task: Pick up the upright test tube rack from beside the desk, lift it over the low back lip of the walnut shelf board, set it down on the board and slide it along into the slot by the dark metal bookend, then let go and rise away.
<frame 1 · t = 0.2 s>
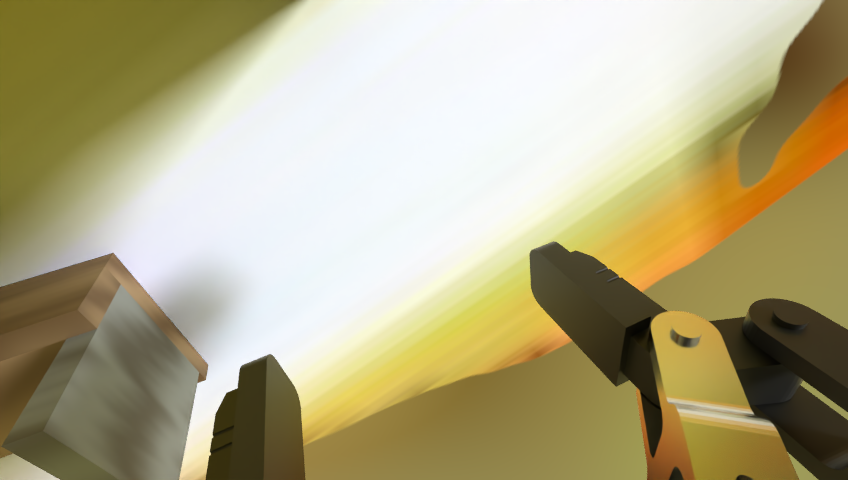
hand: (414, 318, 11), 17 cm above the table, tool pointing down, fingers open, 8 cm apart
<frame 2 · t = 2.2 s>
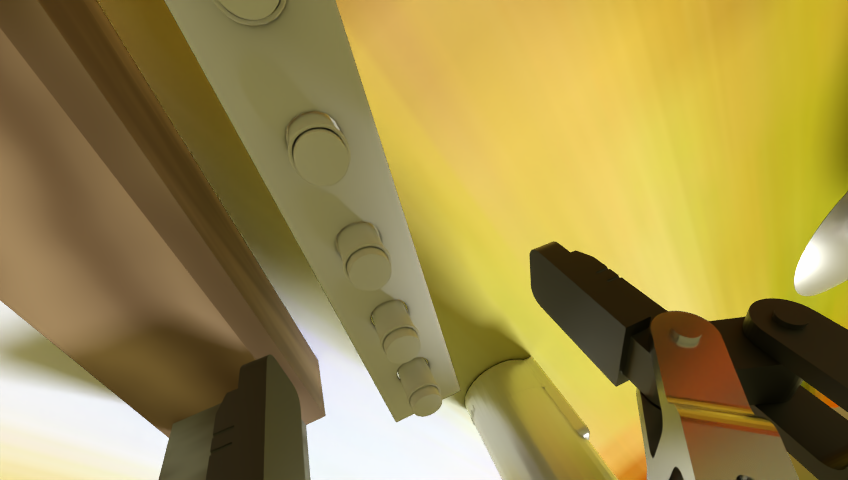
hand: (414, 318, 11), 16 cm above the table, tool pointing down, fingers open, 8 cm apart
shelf: (123, 243, 22), on the table
test tube rack: (326, 160, 24), on the table
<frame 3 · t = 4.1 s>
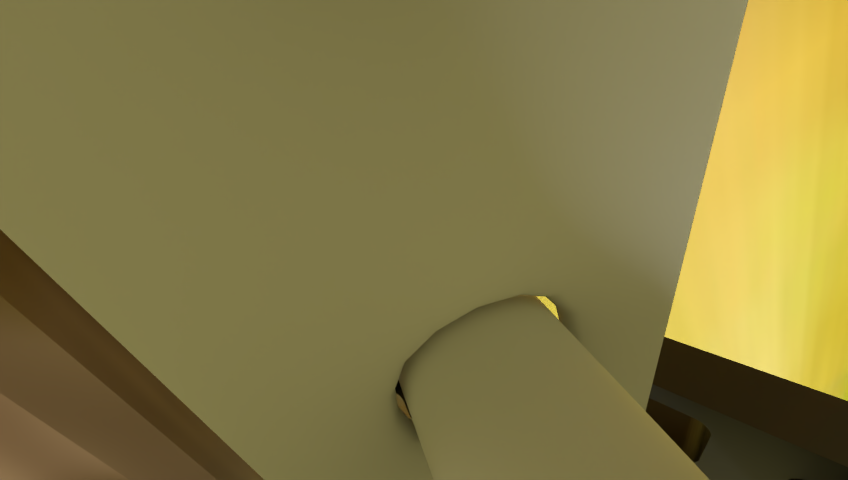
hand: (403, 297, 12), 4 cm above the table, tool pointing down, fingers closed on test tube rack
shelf: (33, 373, 13), on the table
test tube rack: (372, 227, 15), on the table, touching gripper
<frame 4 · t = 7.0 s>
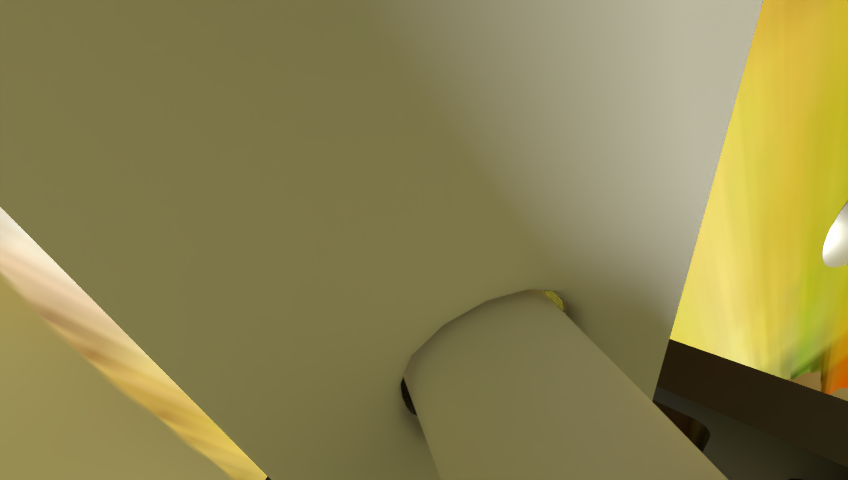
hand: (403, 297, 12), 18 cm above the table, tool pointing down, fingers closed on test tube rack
test tube rack: (372, 226, 15), point 14 cm above the table, touching gripper
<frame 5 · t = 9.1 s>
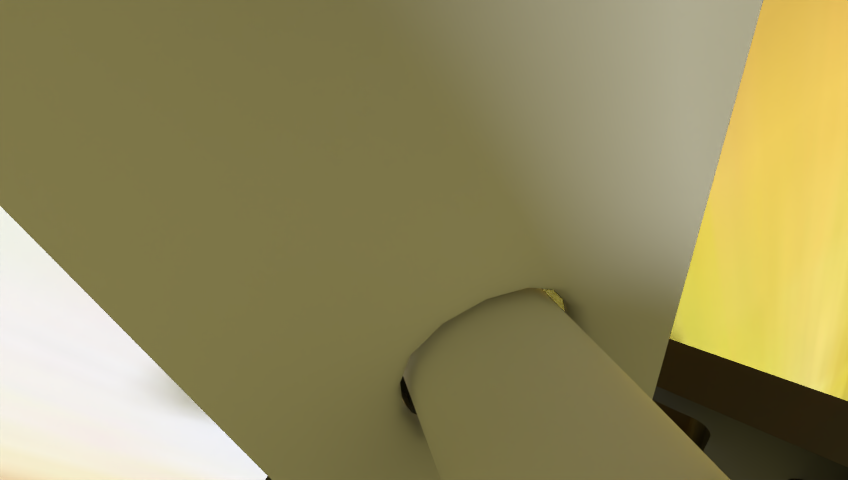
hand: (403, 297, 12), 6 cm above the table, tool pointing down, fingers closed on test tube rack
test tube rack: (372, 226, 15), point 2 cm above the table, touching gripper
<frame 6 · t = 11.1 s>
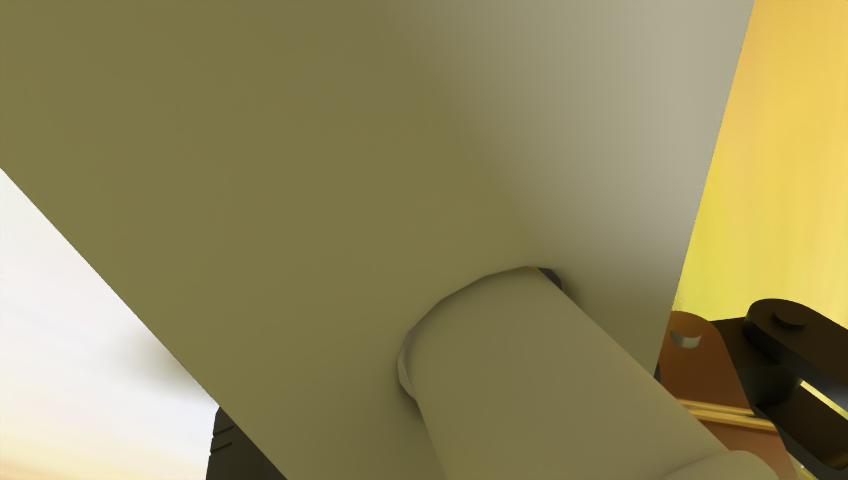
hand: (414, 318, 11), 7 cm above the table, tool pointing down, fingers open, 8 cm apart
test tube rack: (371, 221, 15), point 1 cm above the table, touching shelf
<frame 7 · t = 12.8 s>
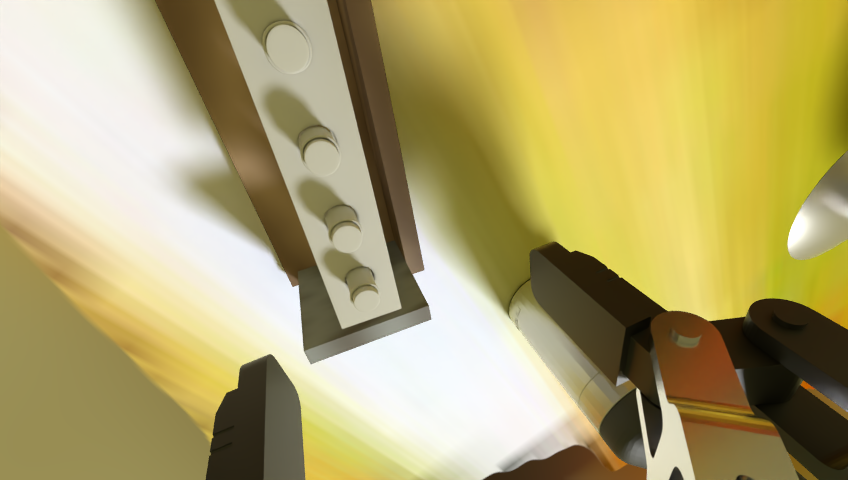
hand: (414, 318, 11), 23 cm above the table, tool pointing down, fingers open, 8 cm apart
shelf: (298, 101, 28), on the table
test tube rack: (304, 102, 27), point 1 cm above the table, touching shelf
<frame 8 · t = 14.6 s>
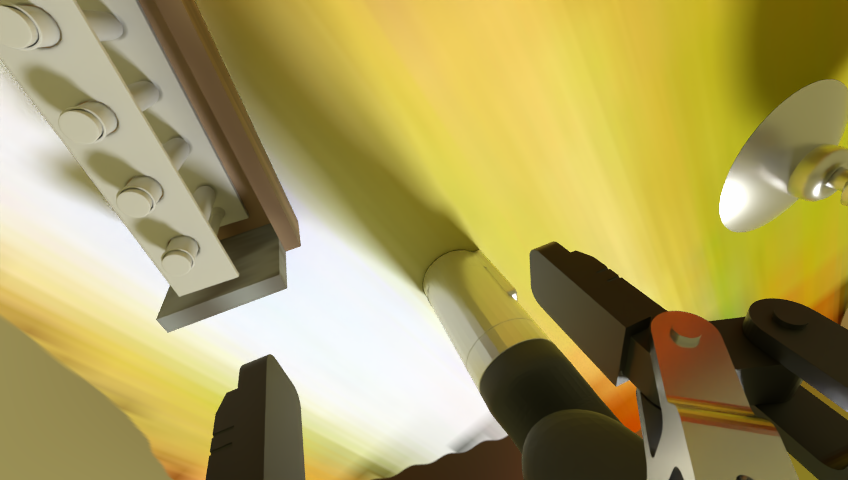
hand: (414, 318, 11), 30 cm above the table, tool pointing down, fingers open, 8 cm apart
desk lamp: (782, 163, 65), on the table
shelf: (153, 89, 30), on the table
test tube rack: (152, 89, 29), point 1 cm above the table, touching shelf
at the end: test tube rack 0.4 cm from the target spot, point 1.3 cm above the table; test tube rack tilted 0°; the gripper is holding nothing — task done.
